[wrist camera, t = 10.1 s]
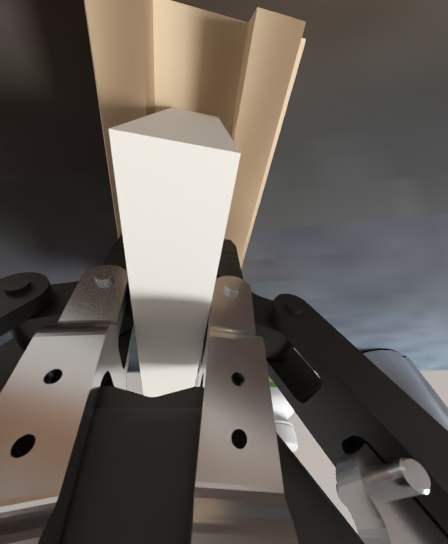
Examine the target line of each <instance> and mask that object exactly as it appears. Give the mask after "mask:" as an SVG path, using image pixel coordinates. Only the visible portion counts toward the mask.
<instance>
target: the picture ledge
mask: <svg viewBox="0 0 448 544" xmlns="http://www.w3.org/2000/svg"><path fill="white" fill-rule="evenodd" d="M84 6H85V13H86V20H87V27H88V34H89V41H90V47H91V54H92V61H93V68H94V75H95V82H96V89H97V96H98V102H99V109H100V116H101V123H102V130H103V137H104V144H105V151H106V158H107V164H108V171H109V178H110V185H111V192H112V199H113V206H114V213H115V219H116V226H117V233H118V239H119V237H120V235H121V234H122V228H121V221H120V213H119V206H118V198H117V190H116V183H115V175H114V167H113V160H112V152H111V145H110V137H109V128H112V127H115V126H118V125H121V124H124V123H127V122H130V121H133V120H136V119H139V118H142V117H145V116H148V115H151V114H154V113H157V112H160V111H163V110H166V109H169V108H172V107H174V108H179V109H183V110H188V111H193V112H198V113H202V114H207V115H212V116H217V117H219V119H220V121H221V122H222V124H223V125H224V127H225V129H226V130H227V132H228V133H229V135H230V137H231V138H232V140H233V141H234V143H235V145H236V146H237V148H238V149H239V151H240V153H241V155H240V160H239V165H238V170H237V175H236V180H235V185H234V190H233V196H232V201H231V206H230V211H229V216H228V221H227V226H226V231H225V236H224V239H227V240H231V241H232V242H233V243H234V244H235V245H236V248H237V252H238V257H239V262H240V267H242V264H243V260H244V257H245V253H246V250H247V246H248V242H249V239H250V235H251V232H252V228H253V225H254V221H255V218H256V214H257V211H258V207H259V204H260V200H261V197H262V193H263V190H264V186H265V182H266V179H267V175H268V172H269V168H270V165H271V161H272V158H273V154H274V151H275V147H276V144H277V140H278V137H279V133H280V130H281V126H282V122H283V119H284V115H285V112H286V108H287V105H288V101H289V98H290V94H291V91H292V87H293V84H294V80H295V77H296V73H297V70H298V66H299V62H300V59H301V55H302V52H303V48H304V45H305V41H306V39H303V38H302V35H303V31H304V27H305V24H306V22H305V21H302V20H299V19H295V18H292V17H289V16H285V15H282V14H279V13H275V12H272V11H269V10H266V9H262V8H259V7H257V9H256V10H255V12H254V14H253V16H252V17H251V19H250V21H249V23H248V22H244V21H241V20H237V19H234V18H230V17H227V16H223V15H220V14H216V13H213V12H209V11H206V10H202V9H199V8H195V7H192V6H189V5H185V4H182V3H178V2H175V1H171V0H84Z"/></svg>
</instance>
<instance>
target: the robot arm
mask: <svg viewBox="0 0 448 544" xmlns="http://www.w3.org/2000/svg"><path fill="white" fill-rule="evenodd" d="M8 331H9V333H10V334H11V336H12V337H13V339H11V340H9V341H8V342H6V343H5V344H3V345H2V346H0V544H448V407H447V406H446V405H445V404H444V402H443V401H442V400H441V398H440V397H439V396H438V395H437V393H436V392H435V391H434V389H433V388H432V387H431V386H430V384H429V383H428V382H427V380H426V379H425V378H424V377H423V375H422V374H421V373H420V371H419V370H418V369H417V368H416V366H415V365H414V364H413V362H412V361H411V360H410V358H405V357H402V356H401V354H400V353H398V352H396V351H391V350H377V351H371V352H366V353H361V352H360V351H359V350H358V349H357V348H356V347H355V346H354V345H353V344H352V343H350V342H349V341H348V340H347V339H346V338H345V337H344V336H343V335H342V334H341V333H339V332H338V331H337V330H336V329H335V328H334V327H333V326H332V325H331V324H330V323H328V322H327V321H326V320H325V319H324V318H323V317H322V316H321V315H320V314H319V313H317V312H316V311H315V310H314V309H313V308H312V307H311V306H310V305H309V304H308V303H306V302H305V301H304V300H303V299H301V298H299V297H297V296H295V295H291V294H280V295H278V296H277V297H276V298H275V299H274V301H272V300H269V299H266V298H263V297H260V296H258V295H256V294H254V293H252V292H251V288H250V286H249V284H248V283H247V282H245V281H244V280H243V277H242V272H241V267H240V262H239V257H238V252H237V248H236V245H235V244H234V243H233V242H232V241H231V240H227V239H224V241H223V246H222V251H221V256H220V261H219V266H218V271H217V276H216V281H215V286H214V291H213V296H212V301H211V306H210V311H209V316H208V321H207V326H206V331H205V336H204V341H203V346H202V353H201V361H200V370H199V377H198V384H197V387H191V388H188V389H184V390H180V391H176V392H173V393H169V394H165V395H162V396H158V397H147V396H144V395H140V394H137V393H134V392H130V391H127V390H126V387H127V381H126V379H127V370H128V365H129V359H130V354H131V348H132V342H133V337H134V331H135V327H134V320H133V312H132V305H131V297H130V289H129V282H128V274H127V266H126V259H125V251H124V244H123V236H122V234H121V235H120V237H119V239H118V241H117V242H116V244H115V245H114V247H113V249H112V250H111V252H110V253H109V255H108V257H107V258H106V260H105V262H104V263H103V265H101V266H96V267H94V268H91V269H89V270H88V271H86V272H85V273H84V274H83V275H82V276H81V278H80V280H79V281H76V282H70V283H62V284H54V285H50V282H49V280H48V278H47V277H46V276H44V275H42V274H39V273H33V272H26V273H18V274H14V275H10V276H7V277H5V278H2V279H0V336H2V335H3V334H5V333H7V332H8ZM294 347H295V349H296V350H297V351H298V352H299V353H300V354H301V355H302V356H303V358H304V359H305V360H306V361H307V362H308V363H309V364H310V365H311V367H312V368H313V369H314V370H315V371H316V372H317V373H318V375H319V377H320V378H319V377H318V376H317V375H316V374H315V373H314V371H313V370H312V369H311V368H310V367H309V366H308V365H307V364H306V362H305V361H304V360H303V359H302V358H301V357H300V356H299V354H298V353H297V352H296V351H295V350H294V349H293V348H294ZM269 377H270V378H271V379H272V381H273V382H274V384H275V385H276V386H277V388H278V389H279V390H280V392H281V393H282V394H283V396H284V397H285V399H286V400H287V401H288V403H289V404H290V405H291V407H292V408H293V410H294V411H295V412H296V414H297V415H298V416H299V418H300V419H301V421H302V422H303V423H304V425H305V426H306V427H307V429H308V430H309V432H310V433H311V434H312V436H313V437H314V438H315V440H316V441H317V443H318V444H319V445H320V446H321V448H322V449H323V451H324V452H325V453H326V455H327V456H328V458H329V459H330V460H331V462H332V463H333V464H334V466H335V467H336V480H337V484H336V489H337V494H338V496H339V498H340V500H341V502H342V503H343V504H344V505H345V506H346V507H347V508H348V510H349V511H350V513H351V515H352V518H353V520H354V522H355V525H356V527H357V531H358V534H357V533H356V532H355V531H354V529H353V528H352V527H351V526H350V524H349V523H348V522H347V520H346V519H345V518H344V517H343V515H342V514H341V513H340V512H339V510H338V509H337V508H336V507H335V505H334V504H333V503H332V502H331V500H330V499H329V498H328V497H327V495H326V494H325V493H324V491H323V490H322V489H321V488H320V487H319V485H318V484H317V483H316V481H315V480H314V479H313V477H312V476H311V475H310V474H309V473H308V471H307V470H306V469H305V467H304V466H303V465H302V464H301V463H300V461H299V460H298V459H297V457H296V456H295V455H294V454H293V452H292V451H291V450H290V448H289V447H288V446H287V445H286V443H285V442H284V441H283V440H282V438H281V437H280V436H279V435H278V433H277V432H276V428H275V420H274V413H273V405H272V398H271V390H270V383H269ZM358 535H359V536H358Z"/></svg>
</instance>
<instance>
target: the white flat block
mask: <svg viewBox="0 0 448 544" xmlns="http://www.w3.org/2000/svg"><path fill="white" fill-rule="evenodd" d="M109 137H110V145H111V152H112V160H113V167H114V175H115V183H116V190H117V198H118V206H119V213H120V221H121V228H122V236H123V244H124V251H125V259H126V266H127V274H128V282H129V289H130V297H131V305H132V312H133V320H134V327H135V335H136V343H137V350H138V358H139V365H140V373H141V380H142V388H143V395H144V396H147V397H158V396H162V395H165V394H169V393H173V392H176V391H180V390H184V389H188V388H191V387H195V382H196V377H197V372H198V367H199V362H200V357H201V351H202V346H203V341H204V336H205V331H206V326H207V321H208V316H209V311H210V306H211V301H212V296H213V291H214V286H215V281H216V276H217V271H218V266H219V261H220V256H221V251H222V246H223V241H224V236H225V231H226V226H227V221H228V216H229V211H230V206H231V201H232V196H233V190H234V185H235V180H236V175H237V170H238V165H239V160H240V155H241V153H240V151H239V149H238V148H237V146H236V145H235V143H234V141H233V140H232V138H231V137H230V135H229V133H228V132H227V130H226V129H225V127H224V125H223V124H222V122H221V121H220V119H219V117H217V116H212V115H207V114H202V113H198V112H193V111H188V110H183V109H179V108H174V107H172V108H169V109H166V110H163V111H160V112H157V113H154V114H151V115H148V116H145V117H142V118H139V119H136V120H133V121H130V122H127V123H124V124H121V125H118V126H115V127H112V128H109Z"/></svg>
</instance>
